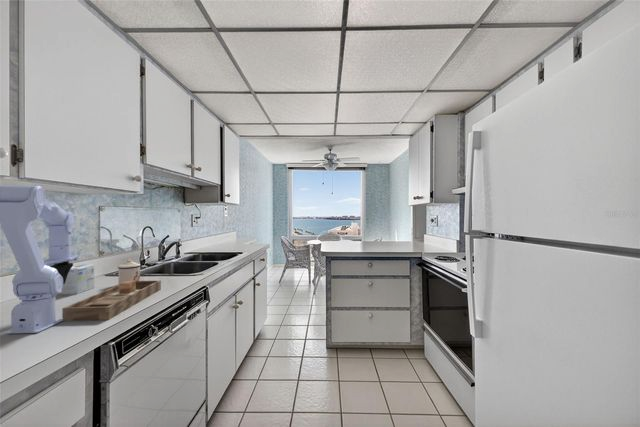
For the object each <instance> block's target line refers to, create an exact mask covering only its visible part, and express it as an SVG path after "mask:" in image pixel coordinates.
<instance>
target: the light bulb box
mask: <svg viewBox="0 0 640 427" xmlns="http://www.w3.org/2000/svg"><path fill="white" fill-rule="evenodd" d="M94 288H95V264H92V263H91V264H78V265H73V266H72V267H71V269H70V271H69V273H68V275H67V278H66V281H65V284H64V285H63V287H62V290H61V295H78V294H81V293H83V292H86V291H88V290H91V289H94Z"/></svg>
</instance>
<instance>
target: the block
mask: <svg viewBox="0 0 640 427" xmlns="http://www.w3.org/2000/svg"><path fill="white" fill-rule="evenodd" d="M118 285H119V294H127V293H132V292H134V291H136V281H124V282H122V283H119V284H118Z"/></svg>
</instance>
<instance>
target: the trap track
mask: <svg viewBox="0 0 640 427" xmlns="http://www.w3.org/2000/svg"><path fill="white" fill-rule="evenodd" d="M161 284H162V280H140V281H136V291H134V292H132V293H127V294H119V284H117V285H115V286H113V287H111V288H107V289H106V290H103V291H101V292H98V293H96V294H94V295H91V296H89V297H87V298H84V299H82V300H80V301H79V300H78V301H77V302H74V303H72V304H70V305H69V304H68V305H66V306H65V307H62V312H61V314H62V315H61V316H62V319H63V321H62V322H73V321H74V322H76V321H108V320H109V321H110V320H111V319H112V318H114V317H116V316H118V315H119V314H121V313H123V312H125V311H126V310H129V309H130V308H132V307H133V306H135V305H137V304H138V303H141V302H142V301H143V300H145V299H147V298H149V297H151V296H152V295H153V294H155V293H158V292H159V291H161V290H162V285H161Z"/></svg>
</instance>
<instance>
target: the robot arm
mask: <svg viewBox="0 0 640 427" xmlns="http://www.w3.org/2000/svg"><path fill="white" fill-rule="evenodd" d="M46 198H47V195H46V191H45V189H44V188H43V187H42V186H40V185H16V184H15V185H14V184H0V226H1V230H2V231H3V233H4V236H5V238H6V240H7V243H8V245H9V247H10V249H11V251H12V254H13V257H14V258H15V261H16V264H17V266H18V269H19V271H17V272H16V273H15V274H14V276H13V278H12V280H11V283H12V286H13V287H12V291H13V294H14V295H15V297H16V298H18V299H19V301H20V302H19V303H18V304H16V305H15V306H13V307H12V309H11V314H10V315H11V321H10V324H11V330H9V331H8V332H7V333H8V334H36V333H37V334H38V333H40V332H43V331H44V330H47V329H49V328H50V327H53V326H55V325H57V324H59V323H61V322H64V321H63V319H61V318H57V317H56V314H57V313H56V296H57V295H58V294H59V293H61V292H62V287H63V285H64V284H65V281H66V278H67V275H68V273H69V271H70V269H71V267H73V266H74V261H79V260H80V259H79V255H78V254H72V245H71V244H72V242H71V241H72V235H71V234H72V232H73V229H74V228H73V227H74V223H75V217H74V213H72V212H71V211H69V210H64V209H63V208H62V207H60V205H58V204H57V203H56V202H55V201H48V200H47V199H46ZM39 218H40V219H41V220H42V222H44V225H45V227H46V228H48V258H47V259H45V260H44V259H43V256H42V255H43V254H42V253H41V250H40V248H39V245H38V243H37V240H36V237H35V235H34V231H33V229H32V226H31V222H33V221H35V220H37V219H39Z"/></svg>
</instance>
